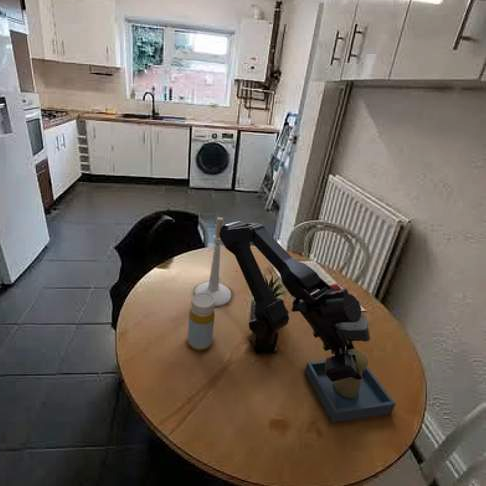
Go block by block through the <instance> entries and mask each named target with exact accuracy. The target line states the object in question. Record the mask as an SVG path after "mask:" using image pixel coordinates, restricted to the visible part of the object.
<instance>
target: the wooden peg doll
mask: <svg viewBox="0 0 486 486" xmlns="http://www.w3.org/2000/svg"><path fill="white" fill-rule="evenodd" d="M347 351H348V352H349V354H350V355H351V356H352V355H356V367H357V369H358V371H359V373H360V375H361V377H362V372H363V371H364V370H365V369H366V368H367V367H368V365H369V361H368V357H367V355H365V352H364V353H363V351H361V350H359V349H356V348H355V349H349V350H347ZM360 383H361V379H360V380H357V379H355V378H353V377H349V378H345V379H341V380H338V381H334V382H333V385H334V387H335V389H336V391H337V392H338V393H339V394H341V395H342V396H344V397H347V398H356V397H357V396H358V394H359V389H360Z"/></svg>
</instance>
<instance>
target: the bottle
mask: <svg viewBox="0 0 486 486" xmlns="http://www.w3.org/2000/svg"><path fill="white" fill-rule="evenodd" d="M214 309H215V306H214V298H213V296H211V295H210V294H207V293H198V294H195V293H194V295H193V296H192V297H191V304H190V310H189V313H188V314H189V315H188V328H187V331H188V332H187V343H188V345H189V347H191V348H192V349H193V350H196V351H205V350H207V349H209V348H210V347H211V346H212V344H213V337H214V327H215V325H214V324H215V317H216V314H215V310H214Z"/></svg>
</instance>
